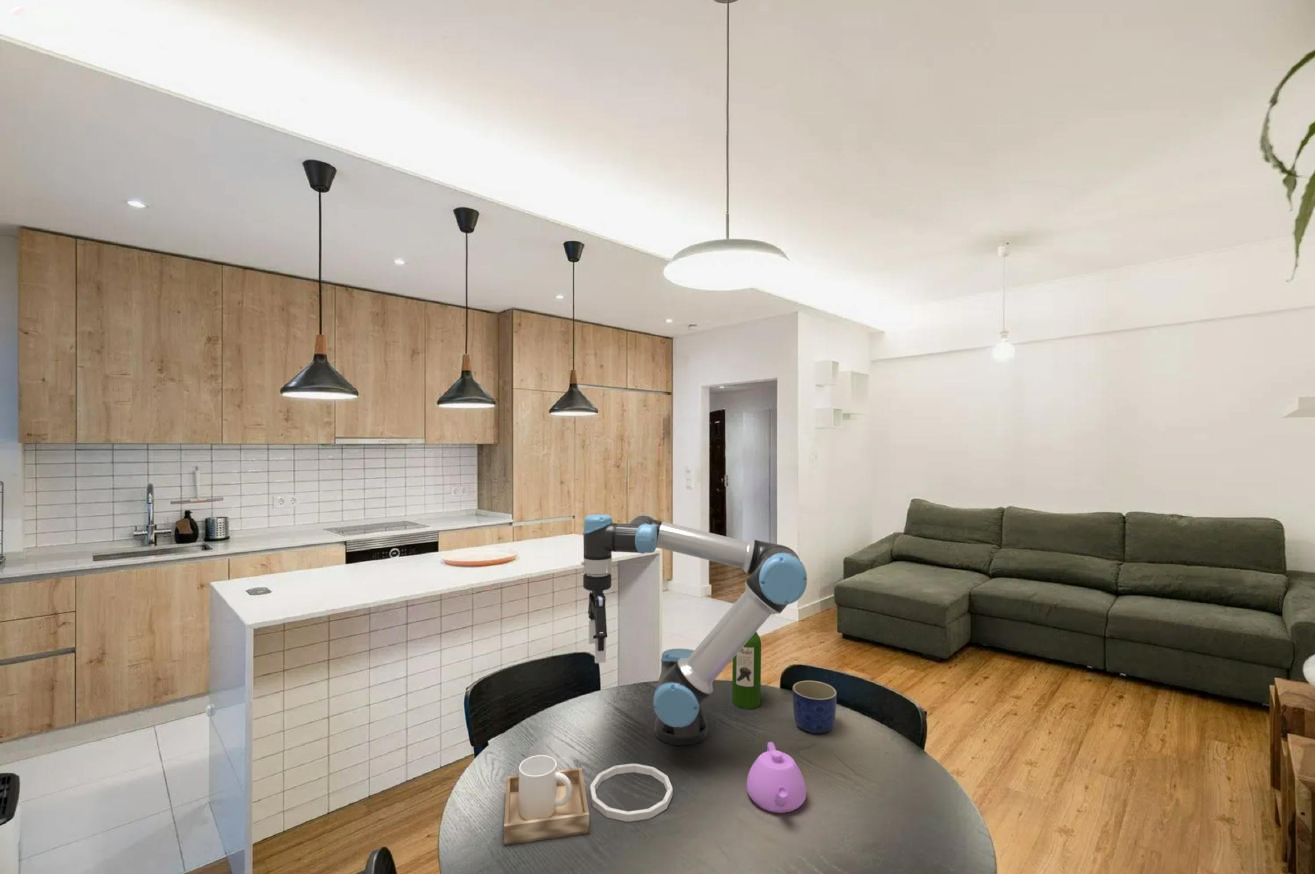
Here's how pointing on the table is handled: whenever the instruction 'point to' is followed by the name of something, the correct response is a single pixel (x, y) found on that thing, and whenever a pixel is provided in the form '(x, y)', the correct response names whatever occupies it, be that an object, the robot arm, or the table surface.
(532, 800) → the mug
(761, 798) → the teapot
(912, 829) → the table surface
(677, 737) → the robot arm
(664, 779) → the socket ring
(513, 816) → the oak bin
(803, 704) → the planter
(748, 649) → the wine bottle
